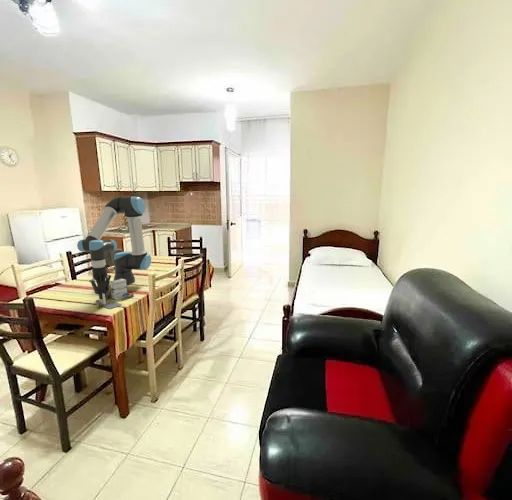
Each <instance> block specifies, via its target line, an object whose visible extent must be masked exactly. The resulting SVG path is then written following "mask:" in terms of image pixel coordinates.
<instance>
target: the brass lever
mask: <svg viewBox="0 0 512 500" xmlns="http://www.w3.org/2000/svg"><path fill="white" fill-rule="evenodd" d="M109 297H110V292H109V291H107V293H106V298H105V300H106V301H107V300H108V299H107V298H109ZM101 305H103V304H101V299H96V300H95V308H96V309H99V308H101V307H102V306H101Z"/></svg>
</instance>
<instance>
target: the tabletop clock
mask: <svg viewBox="0 0 512 500" xmlns="http://www.w3.org/2000/svg"><path fill="white" fill-rule="evenodd" d="M114 241H115V242H116V243H117V241H116V240H114ZM119 252H123V249H122V248H118V247H117V249H116V250H114V251H113V252H110V253H107V254H105V260H106V265H105V266H106V269H107V270H108V269H109V267H110V266H111V267H115V266H114V255H115V254H116V253H119Z"/></svg>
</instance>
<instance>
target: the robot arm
mask: <svg viewBox="0 0 512 500" xmlns="http://www.w3.org/2000/svg"><path fill="white" fill-rule="evenodd" d="M145 205H146V204H145V201H144V200H143V199H142V198H141V197H139V196H129V195H128V196H116V197H113V198H112V199H110V200H109V201H108V202H107V203H106V204H105V205H104V206H103V208H102V213H101V214H100V215H99V217H98V218H97V221H96V222H95V224H94V225H93V226H92V228H91V229H90V231H89V232H88V234H87V236H86V237H85V239H84V238H83V239H79V240H78V242H77V245H76V247H77V249H78V251H79V252H84V253H89V255H90V262H91V263H90V264H91V267H92V268H91V270H92V275H93V276H92V278H91V279H90V280H89V283H90V284H91V286H92V289H93V291H94V294H96V295H98V298H99V299H98V300H101V304H102V305H104V304H107V299H106V300H105V298H106V293H107V291H109V289H110V285H111V284H110V281H111V278H112V275H111V274H109V273H108V272H107V270H108V269H106V268H107V265H106V260H105V254H107V253H110V252H113V251H114V250H116V249H117V248H118V243H117V241H116V240H115V239H107V240H102V237H104V234H105V233H106V231H107V229H108V227H109V226H110V225H111V223H112V221H113V220H114V219H115V218H116V217H117V216H118V215H119V214H124V217H125V218H126V219H127V225H128V230H129V238H130V245H131V251H129V250H128V251H122V252H119V253H116V254H115V255H114V266H113V267H114V277H113V280H112V281H114V280H118V279H125V280H126V285H130V284H134V283H135V282H136V278H135V275H134V273H133V270H135V271H138V270H139V271H146V270H148V269H149V268H150V266H151V264H152V256H151V254H149V253H148V250H147V249H145V244H144V243H145V241H144V236H143V235H144V234H143V226H142V217H143V214H144V213H145V209H146V206H145ZM115 241H116V242H115Z"/></svg>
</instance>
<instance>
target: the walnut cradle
mask: <svg viewBox="0 0 512 500" xmlns="http://www.w3.org/2000/svg"><path fill="white" fill-rule="evenodd" d="M109 292H110V297H109V298H107V299H106V300H111V299H112V295H111V288H109ZM134 296H135V295H134V293H130V292H129V291H127V296H125V297H122V298H120V299H121V301H122V302H123V301H125V300H128V299H131V298H134Z"/></svg>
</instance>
